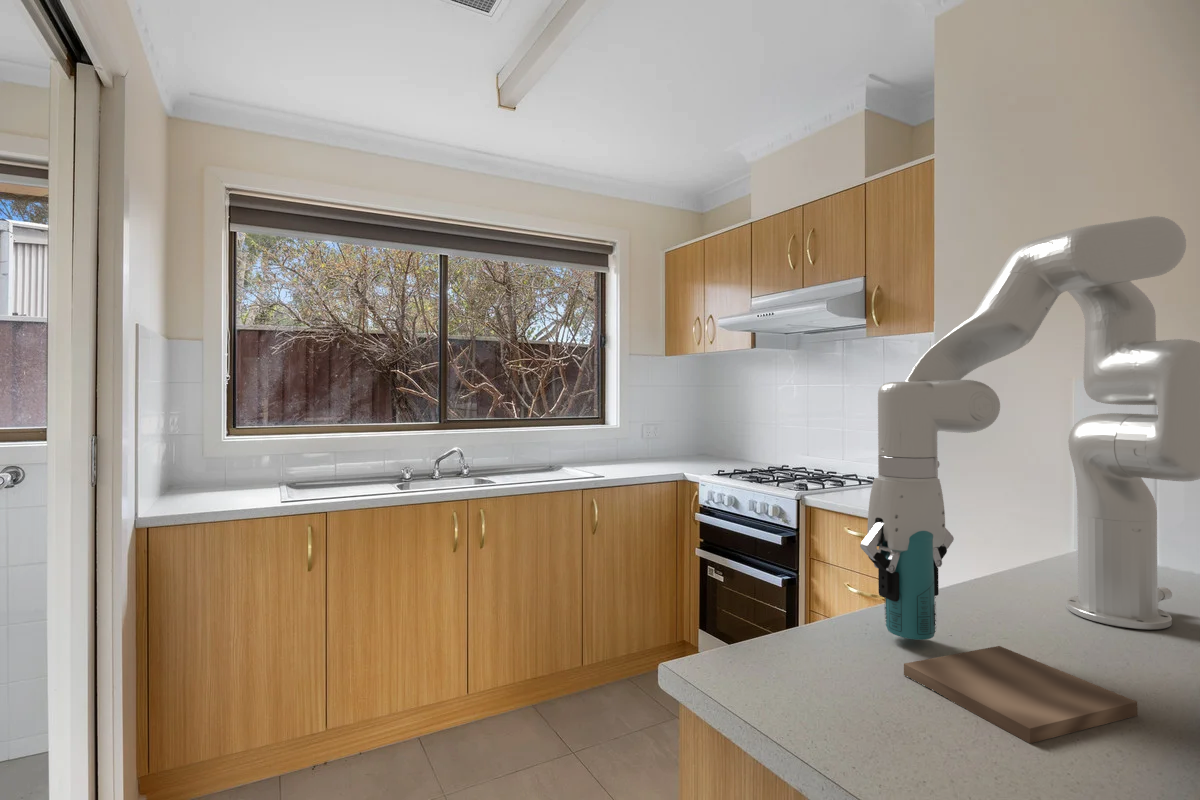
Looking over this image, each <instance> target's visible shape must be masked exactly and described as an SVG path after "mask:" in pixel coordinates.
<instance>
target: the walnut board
mask: <svg viewBox="0 0 1200 800" xmlns="http://www.w3.org/2000/svg"><path fill="white" fill-rule="evenodd" d="M904 675H905V676H904ZM903 676H904V677H906V676H908V677H910V678H911V679H913V680H915V681H917V682H919V683H921V684H923V685H925V686H926V687H928V688H930V689H933V690H934V691H936V692H937V693H939V694H941V695H943V696H944V697H943V696H942V697H943V698H945V697H946V698H948V699H949V700H948V699H947V700H948V701H950V700H951V702H952V701H953V702H952V703H954V702H955V703H954V704H956V703H957V704H956V705H957V706H959V705H960V707H961V706H962V707H961V708H963V707H964V709H965V708H966V709H965V710H967V711H969V712H971V713H972V712H973V714H974V715H976V716H978V717H980V718H982V719H984V720H986V721H987V722H989V723H991V724H993V725H994V726H996V727H998V728H999V729H1000V728H1001V729H1002V730H1004V731H1006V732H1008V733H1009V734H1011V735H1014V736H1015V737H1017V738H1018V739H1020V740H1022V741H1025V742H1026V743H1028V744H1033V743H1038V742H1041V741H1042V742H1043V741H1044V740H1049V739H1053V738H1056V737H1061V736H1064V735H1068V734H1072V733H1075V732H1079V731H1084V730H1087V729H1090V728H1096V727H1099V726H1102V725H1103V726H1104V725H1106V724H1110V723H1115V722H1119V721H1122V720H1126V719H1129V718H1133V717H1138V713H1139V712H1138V709H1139V708H1138V701H1136V700H1134V699H1132V698H1129V697H1128V696H1124V695H1122V694H1120V693H1117V692H1114V691H1112V690H1109V689H1107V688H1105V687H1101V686H1099V685H1098V684H1094V683H1093V682H1090V681H1087V680H1085V679H1082V678H1080V677H1077V676H1075V675H1072V674H1070V673H1067V672H1065V671H1063V670H1060V669H1058V668H1056V667H1052V666H1050V665H1047V664H1045V663H1044V662H1041V661H1037V660H1036V659H1033V658H1031V657H1028V656H1026V655H1023V654H1021V653H1018V652H1015V651H1013V650H1011V649H1008V648H1006V647H1003V646H1001V645H997V646H991V647H987V648H981V649H979V648H978V649H974V650H970V651H964V652H959V653H954V654H948V655H943V656H936V657H933V658H928V659H927V658H926V659H920V660H917V661H911V662H905V663H903ZM911 679H910V680H911ZM913 680H912V681H913ZM915 681H914V682H915ZM917 682H916V683H917ZM919 683H918V684H919ZM926 687H925V688H926ZM928 688H927V689H928ZM930 689H929V690H930ZM937 693H936V694H937ZM939 694H938V695H939ZM941 695H940V696H941ZM946 698H945V699H946Z"/></svg>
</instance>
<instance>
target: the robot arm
mask: <svg viewBox="0 0 1200 800" xmlns="http://www.w3.org/2000/svg"><path fill="white" fill-rule="evenodd" d="M1186 249H1187V239H1186V235H1185V233H1184V231H1183V229H1182V228H1181V226H1180V225H1178V223H1177V222H1175V221H1174V220H1173V219H1170V218H1167V217H1165V216H1159V215H1153V216H1152V215H1151V216H1146V217H1140V218H1134V219H1133V218H1132V219H1128V220H1127V219H1126V220H1120V221H1114V222H1107V223H1105V222H1104V223H1098V224H1092V225H1086V226H1081V227H1076V228H1074V229H1069V230H1065V231H1062V232H1059V233H1055V234H1051V235H1047V236H1043V237H1040V238H1036V239H1033V240H1030V241H1028V242H1025V243H1023V244H1021V245H1019V246H1018V247H1017V248H1016V249H1015V250H1013V251H1012V252H1011V254H1010V255H1009V256H1008V258H1007V259H1006V261H1005V262H1004V264H1003V265H1002V267H1001V269H1000V270H999V272H998V273H997V275H996V276H995V278H994V279H993V281H992V283H991V284H990V286H989V288H988V289H987V291H986V292H985V294H984V296H983V297H982V299H981V300H980V301H979V302H978V304H977V306H976V307H975V310H974V311H973V313H971V314H970V316H969V317H968V318H967V319H965V320H964V321H962V322H961V323H960V324H959V325H957V326H956V327H954V328H952V330H951V331H949V332H948V333H947V334H946V335H945V336H943V337H942V338H941V339H940V340H938V341H937V342H936V343H935V344H934V345H932V346H931V347H930V348H929V349H928V350H927V351H926V352H925V353H923V355H922V356H921V357H920V358H919V359H918V360H917V362H916V363H915V365H914V366H913V368H912V369H911V371H910V372H909V374H908V376H907V377H906V379H905V380H904V381H892V382H891V381H890V382H886V383H883V384H882V385H881V386H880V387H879V389H878V392H877V442H878V443H877V445H878V446H877V447H878V453H877V454H878V455H877V456H878V457H877V458H878V462H877V464H878V468H877V469H878V472H877V473H878V477H874V478H873V481H872V484H871V485H872V486H871V491H870V493H869V501H868V511H867V513H868V514H867V535H865V537H864V538H863V540H862V541H861V543H860V544H859V545H860V546H859V547H860V549H861V550H862V551H863V552H864V553H865V554H866V555H867V556H868V559H869V560H870V561H871V562H872V563H873V566H874V568H876V569H878V571H877V573H878V574H877V575H878V595H879V597H881V598H886V599H889V600H891V601H894V602H895V601H898V600H899V573H898V572H895V569H896V566H897V563H898V560H899V557H900V553H901V552H904V551H907V550H908V545H909V538H910V537H911V536H912V535H913V534H915V533H916V532H919V531H928V532H930V533H932V534H933V565H934V570H935V571H934V580H935V581H934V585H935V584H936V585H935V586H936V587H934V589H935V590H936V591H935V590H934V591H935V592H934V596H935V595H936V596H935V597H937V596H939V592H940V591H939V568H941V567H942V565H943V558H944V557H945V555H946V554H947V551H948V549H950V546H951V545H952V543H953V542H954V540H955V539H954V538H955V537H954V536H953V534H951V532H950V531H949V530H948V529H947V528H946V516H945V515H946V512H945V502H944V494H943V490H942V485H941V481H940V478H938V475H939V473H938V472H939V470H938V468H940V465H941V463H940V462H939V459H938V432H946V433H957V434H959V433H960V434H970V433H972V434H973V433H977V432H980V431H983V430H986V429H987V428H989V427H991V425H992V424H994V423H995V422H996V420H998V417H999V415H1000V412H1001V402H1000V401H1001V400H1000V398H999V396H998V395H997V393H996V391H995V390H994V389H993V388H992V387H990V386H989V385H987V384H986V383H985V382H981V381H978V380H973V379H963V378H964V377H966V376H967V375H969V374H970V373H972V372H973V371H975V370H977V369H978V368H980V367H982V366H984V365H987V364H989V363H991V362H993V361H996V360H998V359H1001V358H1003V357H1006V356H1007V355H1008V356H1009V355H1010V354H1012V353H1014V352H1016V351H1018V350H1020V349H1022V348H1023V347H1025V346H1026V345H1029V343H1030V342H1031V341H1032V340H1033V339H1034V336H1035V335H1036V334H1037V332H1038V330H1039V329H1040V327H1041V325H1042V323H1043V321H1044V320H1045V319H1046V317H1047V315H1048V313H1049V312H1050V310H1051V308H1053V305H1054V304H1055V302H1056V301H1057V300H1058V298H1059V296H1061V294H1063V293H1065V292H1067V293H1069V294H1070V296H1071V297H1072V298H1073V299H1074V301H1076V302H1077V304H1078V307H1080V310H1081V312H1082V314H1083V318H1084V319H1083V320H1084V348H1083V349H1084V351H1083V353H1084V354H1083V376H1082V377H1083V387H1084V391H1085V392H1086V395H1087V396H1088V397H1089V398H1090V399H1091V400H1093V401H1095V402H1097V403H1100V404H1106V405H1116V406H1117V405H1119V406H1120V405H1121V406H1122V405H1123V406H1129V405H1130V406H1141V405H1142V406H1157V414H1153V413H1152V414H1148V413H1147V414H1144V413H1117V412H1116V413H1115V412H1114V413H1113V412H1112V413H1108V412H1107V413H1097V414H1093V415H1092V414H1091V415H1089V416H1086V417H1084V418H1082V419H1080V420H1079V421H1077V422H1076V423H1075V424H1074V425H1073V426H1072V427H1071V430H1070V432H1069V435H1068V441H1067V442H1068V443H1067V444H1068V451H1069V455H1070V459H1071V464H1072V466H1073V471H1074V475H1075V476H1074V477H1075V482H1076V483H1075V484H1076V485H1075V486H1076V500H1077V501H1076V503H1077V505H1076V506H1077V512H1076V513H1077V517H1076V518H1077V519H1076V520H1077V583H1078V585H1077V587H1078V588H1077V589H1078V590H1077V593H1078V595H1074V596H1071V597H1069V598H1067V599H1066V601H1065V602H1066V604H1065V606H1066V609H1067V610H1068V611H1070V612H1071V613H1072V614H1074V615H1076V616H1078V617H1081V618H1082V619H1083V618H1084V619H1085V620H1086V619H1087V620H1090V621H1093V622H1097V623H1101V624H1105V625H1110V626H1115V627H1119V628H1127V629H1135V630H1149V631H1151V630H1164V629H1167V628H1169V627H1171V626H1172V625H1173V618H1172V616H1171V615H1170V613H1168V612H1166V611H1165V610H1163V609H1160V608H1159V603H1160V602H1161V601H1166V600H1170V599H1172V597H1173V592H1172V591H1171V590H1170V589H1169V588H1168V587H1166V586H1161V587H1158V524H1157V522H1158V521H1157V519H1158V510H1157V505H1156V500H1155V498H1154V496H1153V494H1152V492H1151V491H1150V488H1149V487H1148V485H1147V484H1146V483H1145V481H1144V480H1143V479H1152V480H1162V481H1172V482H1194V481H1199V480H1200V342H1198V341H1196V340H1192V339H1182V338H1180V339H1178V338H1177V339H1176V338H1175V339H1164V340H1157V331H1156V327H1157V326H1156V325H1157V323H1156V321H1157V320H1156V318H1157V317H1156V316H1157V315H1156V309H1155V307H1154V305H1153V302H1152V301H1151V300H1150V298H1149V297H1148V295H1146V293H1145V292H1143V291H1142V290H1141V289H1140V288H1139V287H1138V286H1137V285H1135V283H1133V282H1132V281H1137V280H1142V279H1150V278H1155V277H1161V276H1162V275H1165V274H1167V273H1169V272H1171V271H1172V270H1173V269H1175V268H1176V267H1177V266H1178V264H1180V263H1181V261H1182V259H1183V258H1184V255H1185V253H1186ZM887 543H888V547H887ZM877 547H878V548H877ZM887 553H890V556H889V559H888V560H887V559H886V556H887ZM935 582H936V583H935ZM935 593H936V594H935Z"/></svg>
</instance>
